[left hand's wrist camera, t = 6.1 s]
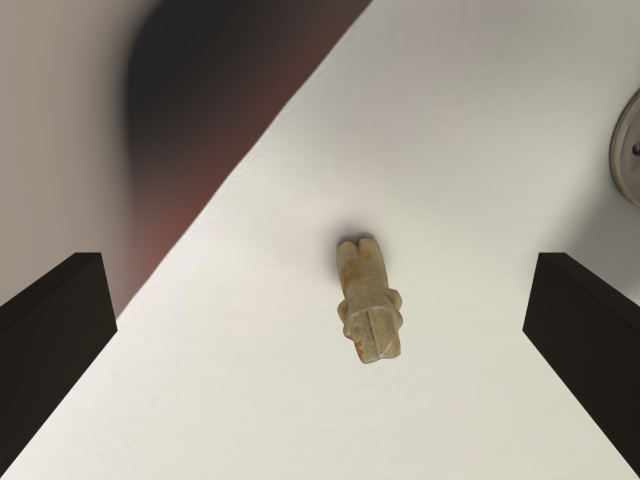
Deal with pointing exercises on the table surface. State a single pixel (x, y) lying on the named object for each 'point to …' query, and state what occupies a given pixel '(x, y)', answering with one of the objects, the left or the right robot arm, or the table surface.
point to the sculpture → (368, 302)
